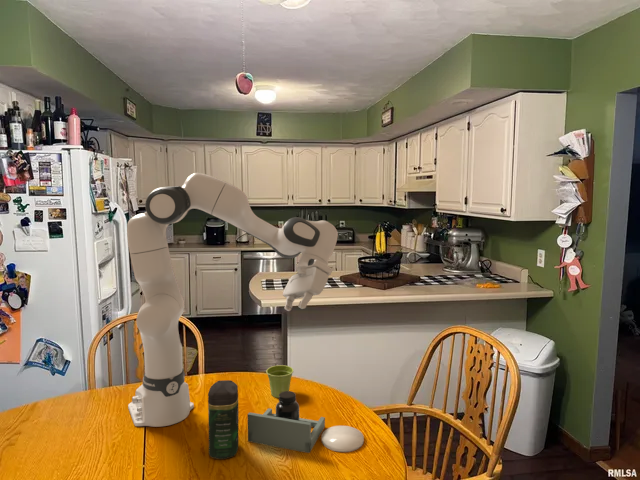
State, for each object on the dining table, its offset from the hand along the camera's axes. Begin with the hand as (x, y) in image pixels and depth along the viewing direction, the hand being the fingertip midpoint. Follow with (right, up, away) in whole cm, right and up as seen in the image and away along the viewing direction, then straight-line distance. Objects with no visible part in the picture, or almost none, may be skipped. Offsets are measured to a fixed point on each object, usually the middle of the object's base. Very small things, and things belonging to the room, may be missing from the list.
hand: (294, 309), depth 132 cm
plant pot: (-6, -34, +22) cm, 41 cm away
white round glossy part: (+14, -36, -6) cm, 39 cm away
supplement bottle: (-2, -36, -3) cm, 36 cm away
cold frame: (-2, -36, -3) cm, 36 cm away
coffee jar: (-18, -37, -11) cm, 43 cm away
